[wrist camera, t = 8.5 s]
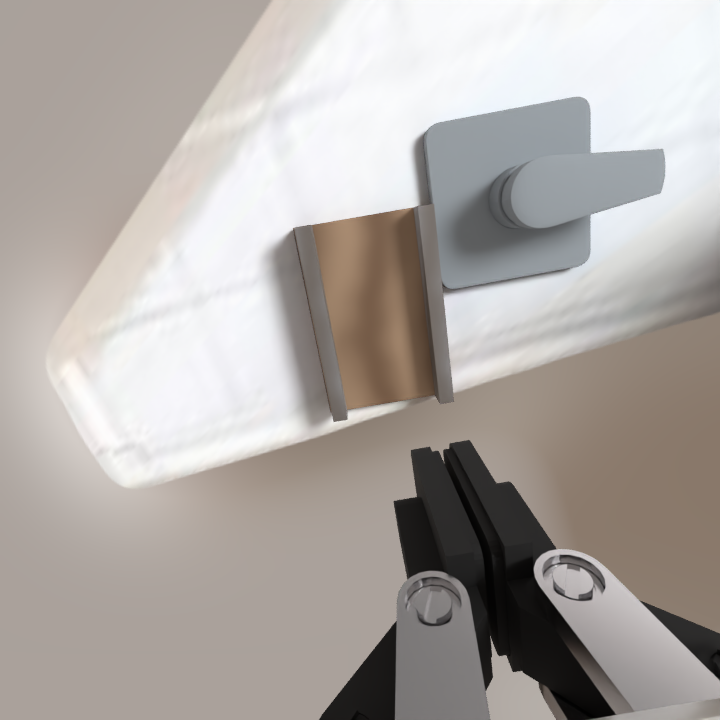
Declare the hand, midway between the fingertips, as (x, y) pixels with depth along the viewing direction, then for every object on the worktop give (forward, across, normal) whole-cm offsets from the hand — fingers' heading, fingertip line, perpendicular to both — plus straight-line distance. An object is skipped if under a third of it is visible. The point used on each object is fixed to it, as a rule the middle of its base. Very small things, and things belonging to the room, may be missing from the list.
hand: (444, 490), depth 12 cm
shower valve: (+22, -21, -8) cm, 31 cm away
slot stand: (+25, 0, 0) cm, 25 cm away
